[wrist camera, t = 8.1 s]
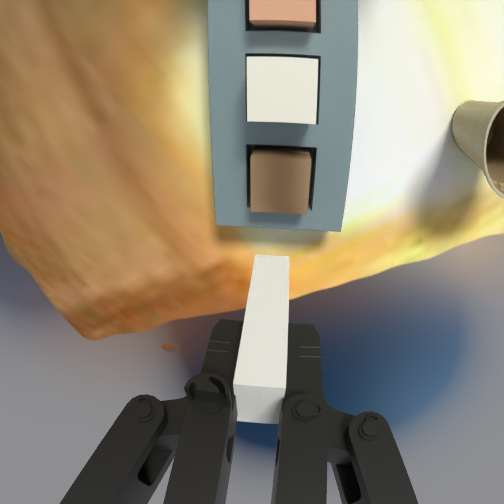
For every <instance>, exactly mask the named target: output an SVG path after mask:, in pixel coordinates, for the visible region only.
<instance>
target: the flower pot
mask: <svg viewBox="0 0 504 504" xmlns="http://www.w3.org/2000/svg"><path fill="white" fill-rule="evenodd" d="M489 131H490V134H489V137H488V133H489ZM452 132H453V135H454V138H455V141H456V143H457V145H458V147H459V148H460V149H461V150H462V151H463V152H464V153H465V154H466V155H468V156H469V157H470V158H471V159H472V160H473V161H474V162H475V163H476V164H477V165H478V166H479V167H480V168H481V169H482V170H483V172H484V174H485V176H486V179H487V181H488V183H489V185H490V186H491V188H492V189H493V190H494V191H495V192H496V193H497V194H498V195H499V196H501V197H502V198H504V101H502V102H499V103H498V102H483V101H467V102H465V103H464V104H462V105H461V106H459V107H458V108H457V110H456V112H455V114H454V117H453V121H452ZM487 138H488V139H487Z"/></svg>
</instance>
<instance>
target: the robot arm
mask: <svg viewBox="0 0 504 504" xmlns="http://www.w3.org/2000/svg"><path fill="white" fill-rule="evenodd" d="M288 310H289V256H272V255H255V260H254V266H253V272H252V277H251V283H250V289H249V295H248V301H247V306H246V312H245V318H244V321H234V320H224V319H221V320H220V321H219V322H218V323H217V324H216V326H215V327H214V328H213V330H212V334H211V338H210V342H209V345H208V350H207V352H206V356H205V360H204V364H203V368H202V371H201V372H202V373H201V374H198V375H195V376H193V377H192V378H191V379H190V380H188V382H187V383H186V385H185V387H184V389H185V392H186V394H187V396H186V397H184V398H180V399H175V400H167V401H160V400H158V399H157V398H155V397H154V396H151V395H139V396H136V397H134V398H132V399H131V400H130V402H128V403H127V405H126V406H125V408H124V409H123V410H122V412H121V414H120V415H119V416H118V418H117V419H116V421H115V422H114V424H113V425H112V427H111V428H110V429H109V431H108V432H107V434H106V435H105V437H104V438H103V440H102V441H101V443H100V444H99V446H98V447H97V449H96V450H95V452H94V453H93V454H92V456H91V458H90V459H89V460H88V462H87V464H86V465H85V467H84V468H83V470H82V471H81V472H80V474H79V476H78V477H77V478H76V480H75V481H74V483H73V484H72V486H71V487H70V489H69V490H68V492H67V493H66V495H65V496H64V498H63V500H62V501H61V503H60V504H147V503H148V502H149V500H150V498H151V497H152V495H153V493H154V491H155V490H156V488H157V486H158V485H159V483H160V481H161V479H162V478H163V476H164V474H165V472H166V471H167V469H168V467H169V465H170V464H171V462H172V460H173V458H174V456H175V458H174V462H173V466H172V470H171V474H170V478H169V482H168V486H167V491H166V495H165V499H164V503H163V504H225V501H226V495H227V489H228V482H229V476H230V470H231V463H232V457H233V450H234V444H235V437H236V433H235V428H236V421H245V422H256V423H270V424H279V430H278V437H277V442H276V458H275V469H274V480H273V490H272V500H271V504H326V494H327V462H330V463H331V465H332V468H333V471H334V475H335V479H336V482H337V486H338V490H339V493H340V497H341V500H342V504H418V502H417V499H416V496H415V493H414V490H413V487H412V485H411V482H410V479H409V476H408V474H407V471H406V468H405V466H404V463H403V460H402V457H401V455H400V452H399V450H398V447H397V445H396V442H395V439H394V437H393V434H392V432H391V429H390V427H389V424H388V423H387V421H386V420H385V418H384V417H382V416H381V415H380V414H378V413H374V412H371V411H370V412H362V413H361V414H358V415H356V416H355V415H351V414H347V413H344V412H340V411H338V410H335V409H334V408H332V407H331V406H329V404H328V403H327V402H326V401H325V399H324V397H323V393H322V373H321V358H320V356H321V354H320V338H319V334H318V332H317V330H316V328H315V327H314V325H313V324H292V323H291V324H290V323H288Z"/></svg>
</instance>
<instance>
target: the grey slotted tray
mask: <svg viewBox="0 0 504 504" xmlns="http://www.w3.org/2000/svg"><path fill="white" fill-rule="evenodd" d="M247 57H295V58H310V59H318V85H317V111H316V124H304V123H287V122H254V121H247ZM208 59H209V97H210V123H211V145H212V165H213V182H214V198H215V214H216V225H224V226H246V227H267V228H285V229H303V230H319V231H335V232H341V227H342V220H343V214H344V207H345V200H346V193H347V185H348V177H349V169H350V160H351V151H352V140H353V129H354V117H355V103H356V86H357V61H358V1H357V0H316V23H315V25H314V27H313V28H312V30H303V29H282V28H254V26H253V25H252V23H251V22H250V14H249V0H208ZM255 146H272V147H294V148H308V150H309V153H310V157H311V173H310V187H309V199H308V210H307V214H291V213H272V212H251V176H250V157H251V155H252V152H253V150H254V148H255Z"/></svg>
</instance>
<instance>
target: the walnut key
mask: <svg viewBox="0 0 504 504" xmlns="http://www.w3.org/2000/svg"><path fill="white" fill-rule="evenodd" d="M310 173H311V157H310V153H309V150H308V148H294V147H272V146H255V148H254V150H253V152H252V155H251V157H250V176H251V212H272V213H291V214H307V210H308V199H309V187H310Z"/></svg>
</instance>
